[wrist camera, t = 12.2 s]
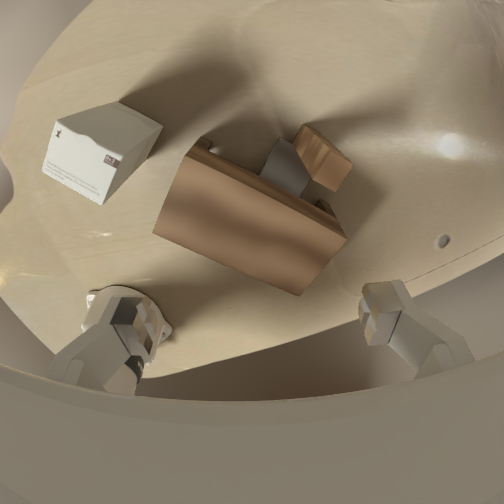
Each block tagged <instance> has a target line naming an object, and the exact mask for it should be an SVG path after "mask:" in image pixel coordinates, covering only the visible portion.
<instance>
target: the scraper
mask: <svg viewBox="0 0 504 504" xmlns="http://www.w3.org/2000/svg"><path fill="white" fill-rule="evenodd" d="M353 165H354V164H353V163H352V162H351V161H349V160H348V159H347V158H346V157H345V156H344V155H343V154H342V153H341V152H340V151H339V150H338V149H337V148H336V147H335V146H333V145H332V144H331V143H330V142H329V141H328V140H327V139H326V138H325V137H323V136H322V135H321V134H320V133H319V132H317V131H315V130H313V129H312V128H310V127H308V126H306V125H305V124H303V125H302V127H301V129H300V130H299V132H298V134H297V135H296V137H295V139H294V140H293V142H292V143H291V142H289V141H287V140H285V139H283V138H281V137H279V139H278V141H277V142H276V144H275V146H274V148H273V149H272V151H271V153H270V155H269V157H268V158H267V160H266V162H265V164H264V166H263V167H262V169H261V171H260V173H259V175H258V176H260V177H262V178H264V179H266V180H268V181H270V182H272V183H273V184H275V185H277V186H279V187H281V188H283V189H285V190H286V191H288V192H290V193H292V194H294V195H296V196H297V197H300V195H301V194H302V192H303V190H304V189H305V187H306V186H307V184H308V182H309V181H310V179H311V178H312V180H314V181H316V182H317V183H319V184H321V185H323V186H325V187H327V188H328V189H330V190H332V191H334V192H336V191H337V189H338V188H339V186H340V185H341V183H342V182H343V180H344V179H345V177H346V176H347V174H348V173H349V171H350V169H351V168H352V166H353Z"/></svg>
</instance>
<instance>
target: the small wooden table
mask: <svg viewBox="0 0 504 504" xmlns="http://www.w3.org/2000/svg"><path fill="white" fill-rule="evenodd" d="M211 142H212V141H209V140H207V139H205V138H203V137H200V138H199V139H198V140H197V141H196V143H195V144H194V145H193V146H192V147H191V149H190V150H189V151H188V152H187V153H186V155H185V156H184V158H183V160H182V163H181V165H180V167H179V169H178V171H177V174H176V176H175V178H174V180H173V183H172V185H171V187H170V190H169V192H168V194H167V197H166V199H165V201H164V204H163V206H162V209H161V211H160V214H159V216H158V219H157V221H156V224H155V226H154V229H153V232H152V233H154V234H156V235H158V236H160V237H162V238H165V239H167V240H169V241H171V242H174V243H176V244H178V245H180V246H182V247H185V248H187V249H189V250H191V251H194V252H196V253H198V254H201V255H203V256H205V257H207V258H210V259H212V260H214V261H217V262H219V263H221V264H223V265H226V266H228V267H230V268H233V269H235V270H237V271H240V272H242V273H244V274H247V275H249V276H251V277H254V278H256V279H258V280H261V281H263V282H265V283H268V284H270V285H273V286H275V287H277V288H280V289H282V290H284V291H287V292H289V293H292V294H294V295H296V296H300V295H301V294H302V293H303V292H304V291H305V289H306V288H307V287H308V286H309V285H310V284H311V283H312V281H313V280H314V279H315V278H316V277H317V276H318V274H319V273H320V272H321V271H322V270H323V268H324V267H325V266H326V265H327V264H328V262H329V261H330V260H331V259H332V258H333V256H334V255H335V254H336V253H337V252H338V250H339V249H340V248H341V247H342V245H343V244H344V243H345V242H346V241H347V238H346V236H345V234H344V232H343V230H342V228H341V226H340V224H339V222H338V220H337V218H336V217H335V215H334V213H333V211H332V209H331V207H330V205H329V204H328V203H326V202H324V201H323V200H321V199H320V200H319V201H318V203H317V204H316V206H313V205H312V204H310V203H308V202H306V201H305V200H303V199H301V198H299V197H297V196H296V195H294V194H292V193H290V192H288V191H286V190H285V189H283V188H281V187H279V186H277V185H275V184H273V183H272V182H270V181H268V180H266V179H264V178H262V177H260V176H258V175H256V174H254V173H252V172H250V171H248V170H246V169H245V168H243V167H241V166H239V165H237V164H235V163H233V162H230V161H228V160H226V159H224V158H222V157H220V156H218V155H216V154H214V153H212V152H210V151H208V148H209V146H210V144H211Z"/></svg>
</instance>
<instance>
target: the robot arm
mask: <svg viewBox="0 0 504 504" xmlns="http://www.w3.org/2000/svg"><path fill="white" fill-rule="evenodd" d="M362 294H363V296H364V297H363V298H362V299H361V300H360V302H359V307H358V314H359V319H360V322H361V324H362V325H363V326H364V327H366V328H365V332H364V334H365V337H366V340H367V343H368V346H373V345H381V344H388V345H389V346H390V347H391V348H392V349H393V350H394V351H395V352H397V353H398V354H399V355H400V356H401V357H402V358H403V359H404V360H405V361H406V362H407V363H408V364H409V365H410V366H411V367H412V368H413V369H414V370H415V371H416V372H417V374H416V376H415V377H414V379H413V380H411V381H406V382H402V383H398V384H393V385H389V386H383V387H378V388H373V389H368V390H362V391H356V392H351V393H344V394H336V395H329V396H320V397H312V398H301V399H290V400H274V401H248V402H247V401H246V402H215V401H188V400H173V399H160V398H151V397H141V396H134V392H135V388H136V385H137V384H138V383H139V381H140V379H141V377H142V374H143V368H144V364H146V365H150V364H151V362H152V361H153V360H154V358H155V355H156V352H157V349H158V346H159V345H160V344H161V343H162V342H163V341H164V340H165V339H166V338H167V337H168V336H169V335H170V334H171V332H172V327H171V326H170V325H169V324H168V323H167V322H166V321H165V320H164V318H163V316H162V313H161V311H160V310H159V308H158V307H157V305H156V304H155V303H154V302H153V301H152V300H151V299H149V297H148V296H146V295H144V294H142V293H140V292H138V291H136V290H134V289H131V288H128V287H123V286H110V287H107V288H105V289H103V290H101V291H90V292H88V294H87V296H86V299H87V306H88V311H87V314H86V316H85V318H84V320H83V323H82V326H81V327H82V329H83V333H82V334H81V335H80V336H79V337H77V338H76V339H75V340H74V341H72V342H71V343H70V344H68V345H67V346H66V347H65V348H63V349H62V350H61V351H60V352H58V353H57V354H56V355H55V357H54V359H53V362H52V364H51V366H50V368H49V370H48V373H47V375H46V377H45V378H43V377H39V376H36V375H33V374H29V373H26V372H23V371H19V370H16V369H13V368H10V367H7V366H5V365H2V364H0V504H504V350H503V351H500V352H498V353H495V354H493V355H491V356H488V357H485V358H482V359H480V360H477V361H476V360H475V358H474V356H473V354H472V352H471V350H470V348H469V346H468V344H467V342H466V340H465V338H464V337H463V336H462V335H460V334H459V333H457V332H456V331H454V330H453V329H451V328H450V327H448V326H447V325H445V324H444V323H442V322H441V321H439V320H438V319H436V318H435V317H433V316H432V315H430V314H429V313H427V312H426V311H424V310H423V309H421V308H417V307H416V305H415V303H414V301H413V300H412V298H411V296H410V294H409V292H408V291H407V289H406V287H405V285H404V284H403V282H402V281H401V280H393V281H386V282H376V283H367V284H364V286H363V288H362Z"/></svg>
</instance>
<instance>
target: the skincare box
mask: <svg viewBox="0 0 504 504" xmlns="http://www.w3.org/2000/svg"><path fill="white" fill-rule="evenodd" d="M163 127H164V126H162V125H161V124H159V123H157V122H156V121H154V120H152V119H150V118H148V117H146V116H145V115H143V114H141V113H139V112H137V111H135V110H133V109H131V108H129V107H127V106H124V105H123V104H121V103H119V102H117V101H116V102H112V103H109V104H105V105H102V106H98V107H95V108H92V109H88V110H85V111H82V112H79V113H76V114H73V115H70V116H67V117H64V118H61V119H58V120H56V123H55V127H54V129H53V132H52V136H51V139H50V142H49V146H48V150H47V153H46V157H45V160H44V164H43V168H42V172H44V173H45V174H47V175H49V176H50V177H52V178H54V179H56V180H57V181H59V182H61V183H63V184H64V185H66V186H68V187H70V188H71V189H73V190H75V191H77V192H78V193H80V194H82V195H84V196H85V197H87V198H89V199H91V200H92V201H94V202H96V203H98V204H100V205H101V206H102V205H103V204H104V203H105V202H106V201H107V200H108V199H109V198H110V197H111V196H112V194H113V193H114V192H115V191H116V190H117V189H118V188H119V187H120V186H121V185H122V184H123V183H124V182H125V181H126V180H127V179H128V177H129V176H130V175H131V174H132V173H133V172H134V171H135V170H136V169H137V168H138V167H139V166H140V165H141V164H142V163H143V162H144V161H145V160H146V158H147V156H148V154H149V152H150V151H151V149H152V147H153V145H154V143H155V141H156V140H157V138H158V136H159V134H160V132H161V131H162V129H163Z"/></svg>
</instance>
